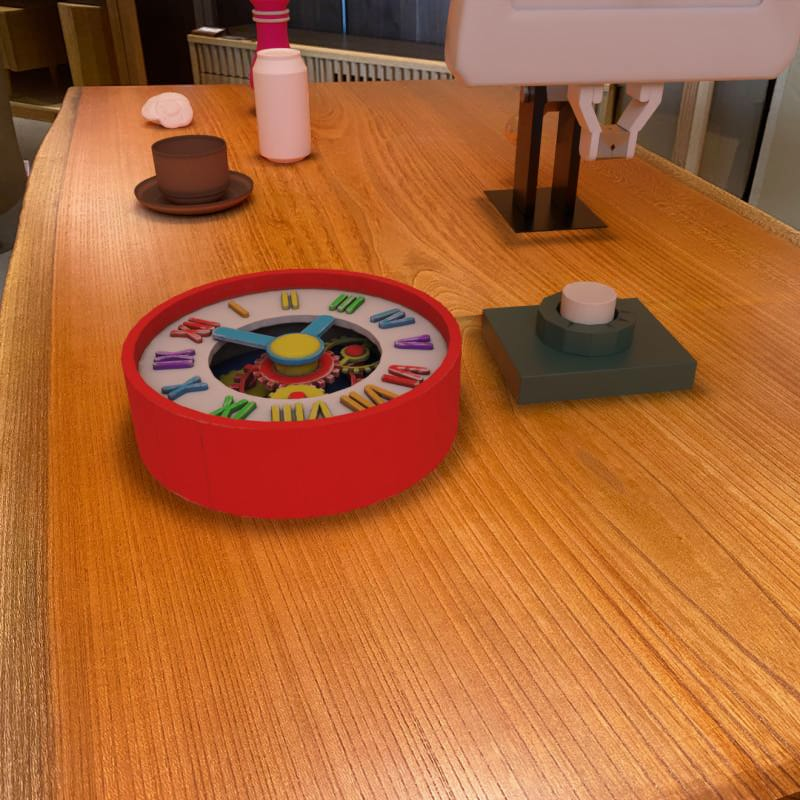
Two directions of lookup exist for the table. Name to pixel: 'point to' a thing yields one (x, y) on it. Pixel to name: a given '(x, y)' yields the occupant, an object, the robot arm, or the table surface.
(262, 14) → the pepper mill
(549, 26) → the robot arm
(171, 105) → the spiral seashell
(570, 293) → the button
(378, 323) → the toy clock
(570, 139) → the bracket
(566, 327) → the button box
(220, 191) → the cup and saucer
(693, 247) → the table surface
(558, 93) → the lever
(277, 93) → the beverage can
